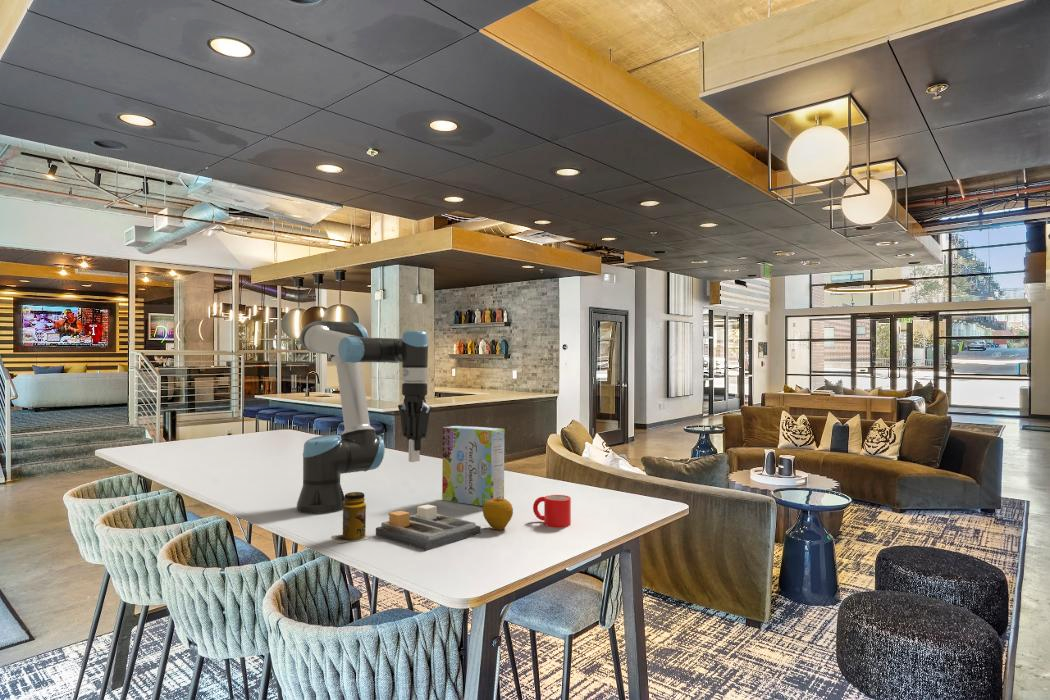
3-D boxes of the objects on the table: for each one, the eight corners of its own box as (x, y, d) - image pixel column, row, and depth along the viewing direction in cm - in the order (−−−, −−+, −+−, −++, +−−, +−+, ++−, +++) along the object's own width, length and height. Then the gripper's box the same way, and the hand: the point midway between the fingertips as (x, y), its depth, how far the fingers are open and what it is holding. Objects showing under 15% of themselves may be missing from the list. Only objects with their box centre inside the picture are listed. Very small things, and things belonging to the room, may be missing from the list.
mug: (537, 517, 186) (537, 492, 186) (574, 522, 181) (574, 496, 181) (527, 524, 179) (527, 497, 179) (565, 528, 174) (565, 501, 174)
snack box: (506, 503, 204) (506, 428, 205) (491, 508, 197) (491, 430, 198) (456, 496, 216) (456, 424, 217) (440, 500, 209) (440, 426, 209)
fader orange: (389, 525, 167) (389, 513, 167) (400, 522, 170) (400, 510, 170) (398, 528, 165) (398, 515, 165) (409, 525, 168) (409, 512, 168)
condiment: (370, 538, 163) (370, 494, 163) (338, 544, 158) (339, 498, 158) (361, 532, 169) (362, 489, 169) (331, 537, 164) (331, 493, 164)
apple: (477, 526, 176) (477, 495, 176) (506, 523, 179) (506, 493, 179) (488, 534, 167) (488, 502, 168) (517, 531, 171) (517, 499, 171)
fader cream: (417, 518, 175) (417, 506, 175) (427, 516, 178) (427, 504, 178) (426, 521, 172) (426, 508, 172) (436, 518, 175) (436, 506, 175)
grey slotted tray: (375, 535, 166) (375, 523, 166) (430, 520, 181) (430, 510, 181) (425, 550, 153) (425, 537, 153) (480, 533, 168) (480, 522, 168)
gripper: (390, 382, 181) (389, 460, 181) (419, 383, 173) (418, 465, 172) (410, 381, 187) (409, 457, 186) (439, 382, 178) (438, 462, 178)
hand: (414, 461), depth 179 cm, fingers closed
